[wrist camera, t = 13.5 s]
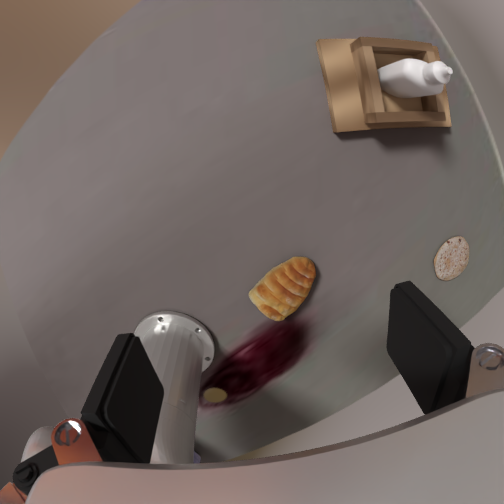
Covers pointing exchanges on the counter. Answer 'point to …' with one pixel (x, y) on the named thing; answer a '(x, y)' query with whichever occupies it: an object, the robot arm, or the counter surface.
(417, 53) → the holder stand
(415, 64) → the eye dropper bottle
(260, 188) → the counter surface
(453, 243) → the flatbread
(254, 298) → the pastry
